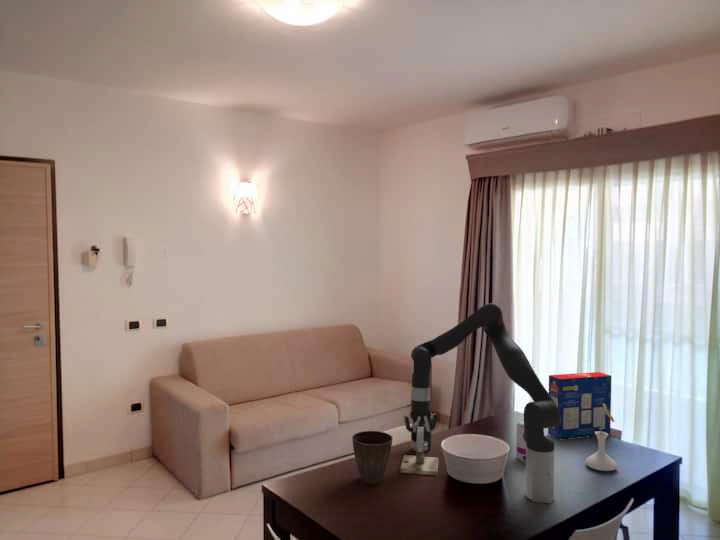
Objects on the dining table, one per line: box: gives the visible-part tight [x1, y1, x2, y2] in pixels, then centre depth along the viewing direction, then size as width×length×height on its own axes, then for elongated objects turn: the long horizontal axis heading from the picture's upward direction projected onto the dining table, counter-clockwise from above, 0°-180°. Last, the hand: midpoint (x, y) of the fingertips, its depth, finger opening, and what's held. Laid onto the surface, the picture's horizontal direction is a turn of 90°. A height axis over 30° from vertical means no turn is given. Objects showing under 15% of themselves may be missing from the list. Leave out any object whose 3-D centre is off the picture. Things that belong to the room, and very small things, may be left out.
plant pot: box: [351, 430, 394, 485], centre depth 194 cm, size 15×15×16 cm
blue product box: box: [547, 371, 612, 441], centre depth 246 cm, size 28×8×28 cm, turn 106°
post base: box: [399, 451, 440, 476], centre depth 207 cm, size 14×14×7 cm
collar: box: [412, 427, 428, 453], centre depth 207 cm, size 12×6×7 cm, turn 172°
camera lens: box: [415, 416, 432, 453], centre depth 226 cm, size 8×8×15 cm
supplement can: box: [515, 419, 526, 462], centre depth 216 cm, size 8×8×15 cm
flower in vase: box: [584, 403, 618, 472], centre depth 208 cm, size 13×11×25 cm
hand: (420, 440), depth 207 cm, fingers open, 4 cm apart
